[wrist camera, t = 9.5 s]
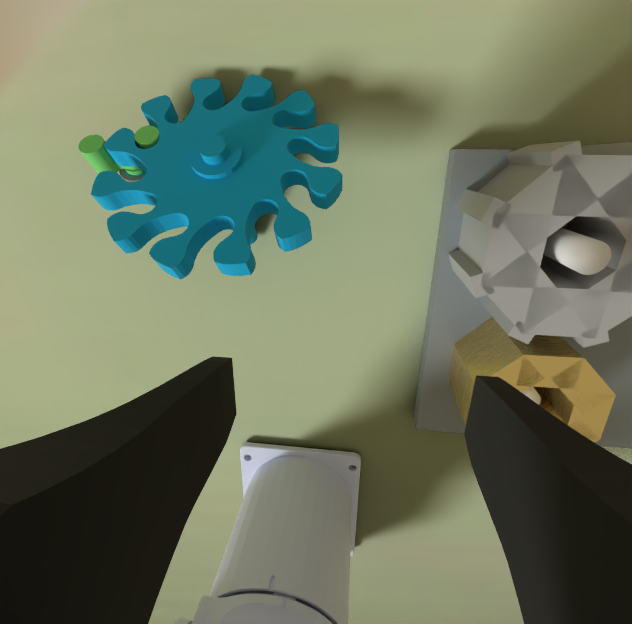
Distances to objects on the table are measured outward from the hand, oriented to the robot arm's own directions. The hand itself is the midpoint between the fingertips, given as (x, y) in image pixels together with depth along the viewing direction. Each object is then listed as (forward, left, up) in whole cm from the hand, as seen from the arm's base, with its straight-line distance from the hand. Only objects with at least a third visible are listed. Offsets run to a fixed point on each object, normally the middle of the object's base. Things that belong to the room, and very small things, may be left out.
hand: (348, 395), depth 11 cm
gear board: (-1, -12, -10) cm, 15 cm away
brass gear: (-3, -8, -9) cm, 12 cm away
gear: (+6, +6, -10) cm, 13 cm away
